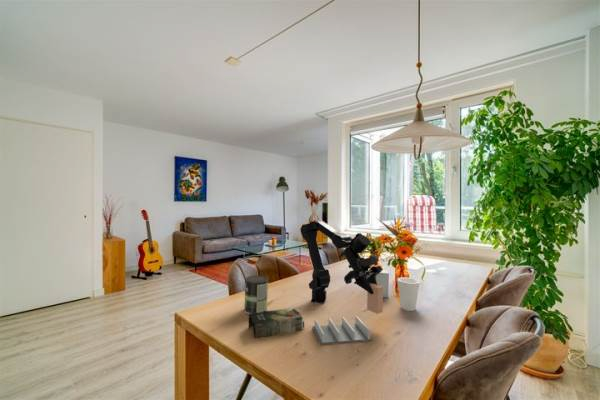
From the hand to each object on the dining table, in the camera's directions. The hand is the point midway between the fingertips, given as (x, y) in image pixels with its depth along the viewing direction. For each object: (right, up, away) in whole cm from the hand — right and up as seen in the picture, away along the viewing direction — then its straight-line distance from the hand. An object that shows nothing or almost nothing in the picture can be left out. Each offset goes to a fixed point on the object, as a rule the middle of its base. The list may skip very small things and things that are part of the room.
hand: (375, 292), depth 103 cm
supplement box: (+14, -15, +37) cm, 43 cm away
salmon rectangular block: (0, -7, 0) cm, 7 cm away
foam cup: (+21, -14, +20) cm, 32 cm away
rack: (-15, -13, -6) cm, 21 cm away
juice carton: (-39, -13, -3) cm, 41 cm away
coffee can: (-50, -13, +13) cm, 53 cm away
